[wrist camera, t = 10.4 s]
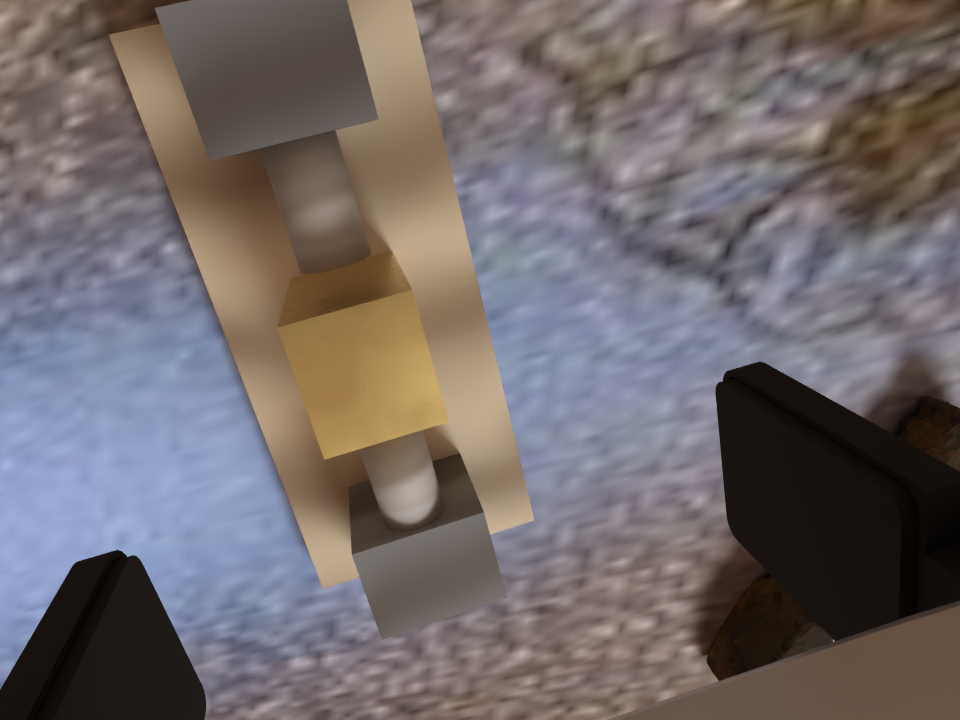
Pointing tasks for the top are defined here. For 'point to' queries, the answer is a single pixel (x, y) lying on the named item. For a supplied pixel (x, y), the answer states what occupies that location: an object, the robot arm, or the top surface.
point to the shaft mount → (331, 245)
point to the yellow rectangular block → (360, 355)
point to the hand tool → (773, 611)
